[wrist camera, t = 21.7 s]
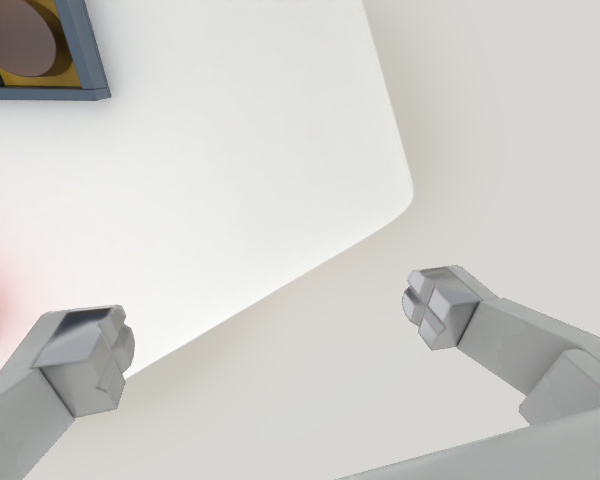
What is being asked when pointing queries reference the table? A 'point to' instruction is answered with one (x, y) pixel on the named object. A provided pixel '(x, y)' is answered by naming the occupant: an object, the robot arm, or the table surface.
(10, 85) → the grid
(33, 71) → the cylinder
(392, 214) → the table surface
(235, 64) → the table surface
